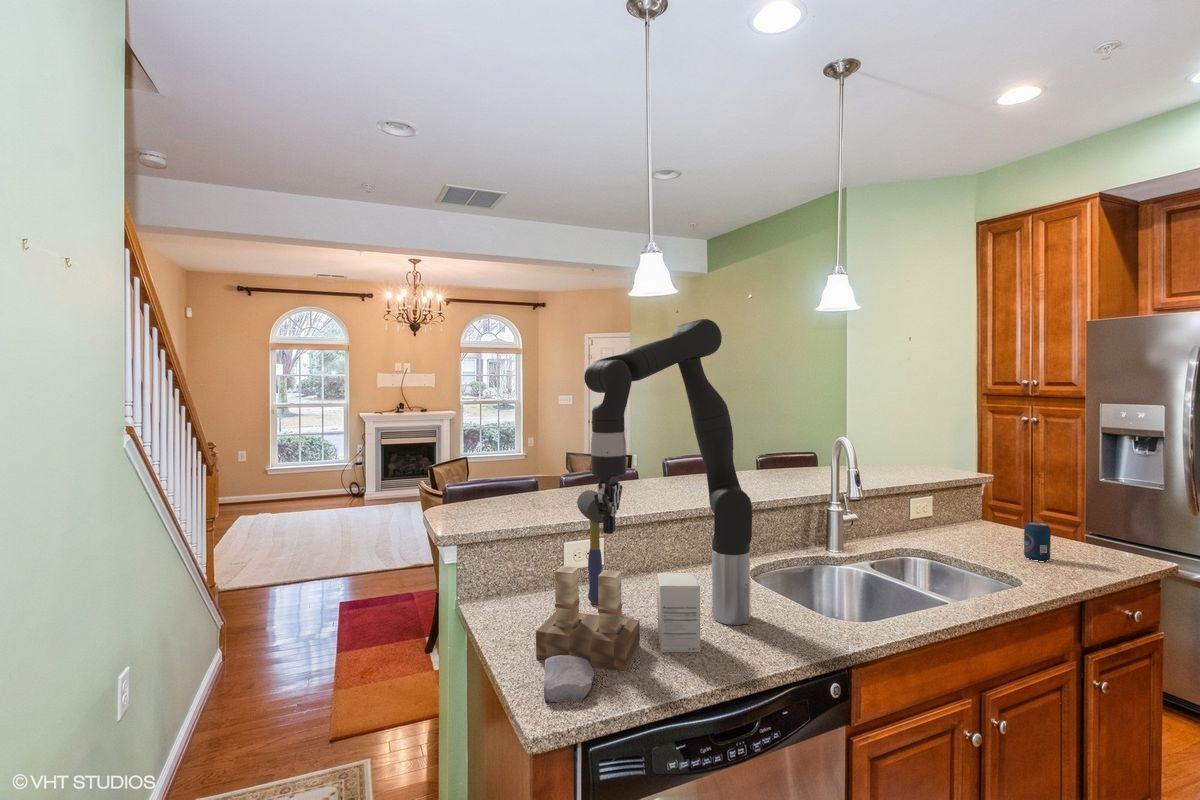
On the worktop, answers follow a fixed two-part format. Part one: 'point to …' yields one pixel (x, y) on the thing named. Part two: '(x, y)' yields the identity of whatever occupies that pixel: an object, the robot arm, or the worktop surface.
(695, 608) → the supplement box
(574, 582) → the far birch peg
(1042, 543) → the soda can
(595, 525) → the rubber mallet
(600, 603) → the near birch peg
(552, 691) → the stone block
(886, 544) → the worktop surface
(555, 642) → the wooden mortise block
